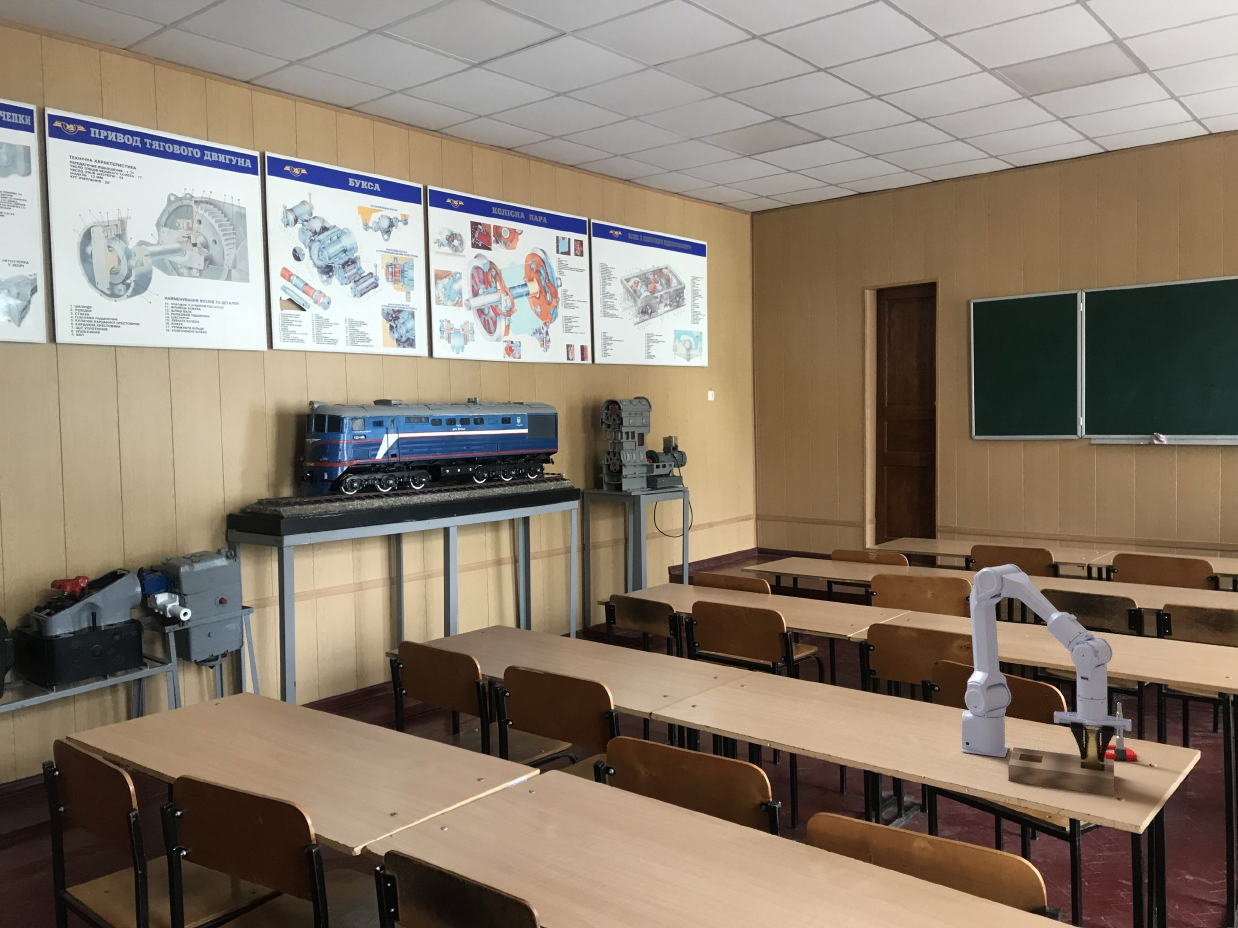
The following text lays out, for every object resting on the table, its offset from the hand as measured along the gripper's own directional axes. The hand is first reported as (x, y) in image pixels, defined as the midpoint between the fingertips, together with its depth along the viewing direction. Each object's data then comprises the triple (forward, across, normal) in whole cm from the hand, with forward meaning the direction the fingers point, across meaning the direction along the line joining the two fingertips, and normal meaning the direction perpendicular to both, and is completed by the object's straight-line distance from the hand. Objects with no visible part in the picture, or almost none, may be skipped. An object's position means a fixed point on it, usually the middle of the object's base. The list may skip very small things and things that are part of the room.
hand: (1092, 759), depth 198 cm
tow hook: (+5, +4, +21) cm, 22 cm away
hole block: (+5, -6, 0) cm, 8 cm away
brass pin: (+3, 0, 0) cm, 3 cm away
